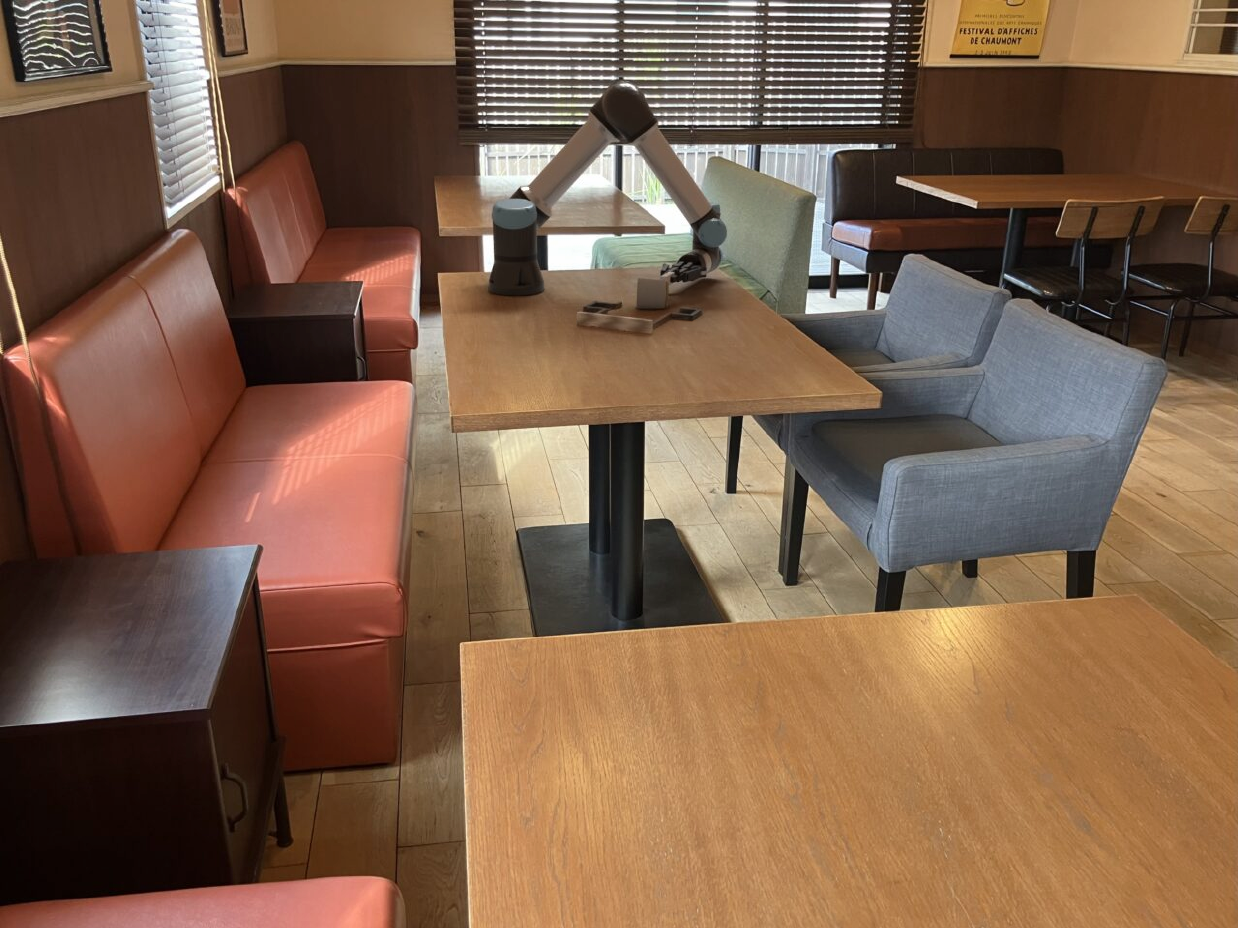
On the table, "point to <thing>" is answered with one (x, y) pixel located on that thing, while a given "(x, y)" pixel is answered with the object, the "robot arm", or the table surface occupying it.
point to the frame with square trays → (627, 318)
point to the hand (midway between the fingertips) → (662, 281)
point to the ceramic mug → (652, 294)
